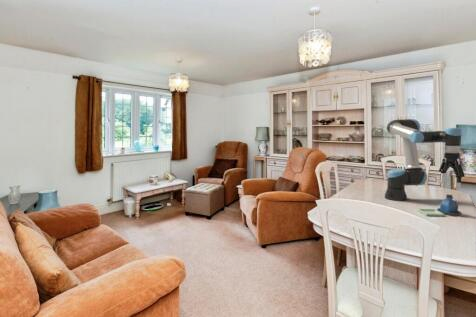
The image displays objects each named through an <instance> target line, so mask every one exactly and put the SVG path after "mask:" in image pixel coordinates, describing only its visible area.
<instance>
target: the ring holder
mask: <svg viewBox="0 0 476 317" xmlns="http://www.w3.org/2000/svg"><path fill="white" fill-rule="evenodd" d="M436 210H437V211H439V212H441V211H440V207H438V208H436ZM441 213H443V214H445V216H449V217H460V216H461V215H462V211H459V210H458V214H456V213H446V212H441Z"/></svg>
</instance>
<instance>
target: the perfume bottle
mask: <svg viewBox="0 0 476 317" xmlns="http://www.w3.org/2000/svg"><path fill="white" fill-rule="evenodd" d="M453 196H454V195H453V194H446V195H445V199H442V200H441V202H440V204H439V208H440V211H441V212H446V213H456V214H458V211H459V204H458V203H457V201H456V200H453V199H454V197H453Z"/></svg>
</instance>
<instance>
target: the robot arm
mask: <svg viewBox="0 0 476 317" xmlns="http://www.w3.org/2000/svg"><path fill="white" fill-rule="evenodd" d="M420 129H421V124H420V122H419V121H418V120H417V119H415V118H408V119H407V118H406V119H393V120H391V121H390V122H388V124H387V125H386V131H387V132H388V133H389V134H391V135H397V136H399V137H400V138H402V143H403V152H404V157H405V165H406V166H405V168H394V169H390V170H388V171H387V182H386V183H387V184H386V185H387V186H386V188H387V189H386V190H385V193H384V198H385V199H387V200H391V201H397V202H400V201H401V202H403V201H407V199H408V196H407V193H406V190H405V187H406V186H416V187H417V186H423V185H425V184H426V182H427V180H428V174H427V172H426V171H425V170H423V167H422V166H420V161H419V160H420V159H419V152H418V147H417V146H418V145H417V144H425V143H426V144H427V143H430V144H431V143H434V144H435V143H444V152H443V153H444V154H443V156H444V158H442V162H441V164H440V167H439V168H438V172H439V173H440V183H441V184H446V183H447V175H448V174H447V173H448V172H447V171H448V170H449V169H450V168H451V169H452V170H453V173H454V175H455V178H454V189H461V186H462V185H461V184H462V178H464V177H465V176H466V175H465V172H464V169H463V165H462V162H463V161H462V160H458V159H460V158H461V153H460V152H461V143H462V129H461V127H447V128H446V129H445V130H435V131H422V130H420Z"/></svg>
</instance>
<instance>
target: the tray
mask: <svg viewBox="0 0 476 317" xmlns="http://www.w3.org/2000/svg"><path fill="white" fill-rule="evenodd" d="M417 212H419V213H420V214H422V215H423V216H425V217H445V216H446V215H445V214H443V213H441V212H439V211H437V209H436V208H417Z"/></svg>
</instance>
